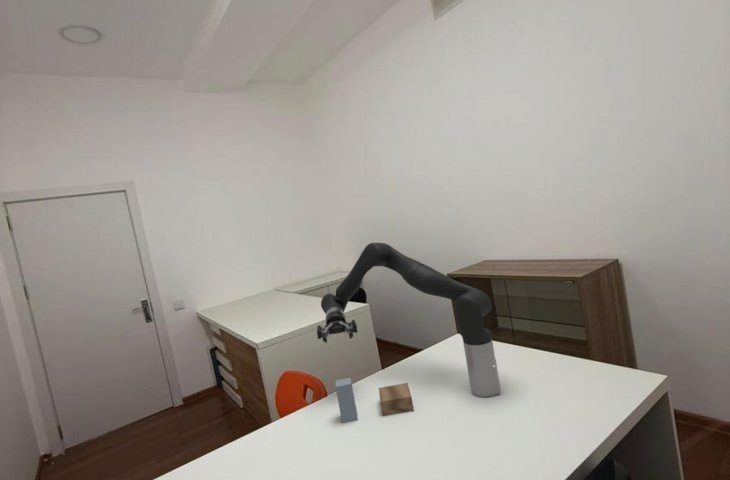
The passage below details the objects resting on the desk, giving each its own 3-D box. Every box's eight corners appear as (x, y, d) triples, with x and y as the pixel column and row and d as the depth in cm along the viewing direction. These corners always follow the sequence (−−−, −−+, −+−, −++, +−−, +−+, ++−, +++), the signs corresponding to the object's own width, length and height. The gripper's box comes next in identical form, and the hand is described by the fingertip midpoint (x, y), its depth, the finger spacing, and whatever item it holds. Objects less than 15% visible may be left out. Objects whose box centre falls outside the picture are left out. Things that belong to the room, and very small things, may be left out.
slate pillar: (356, 412, 130) (350, 377, 129) (357, 419, 125) (351, 383, 124) (342, 415, 130) (335, 380, 129) (342, 423, 125) (335, 387, 124)
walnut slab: (409, 396, 134) (407, 382, 134) (413, 411, 125) (411, 396, 124) (381, 401, 134) (378, 387, 134) (382, 416, 124) (380, 401, 124)
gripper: (315, 313, 148) (315, 331, 133) (352, 307, 150) (357, 324, 134) (318, 331, 150) (319, 351, 134) (355, 325, 151) (360, 344, 136)
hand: (338, 338), depth 134 cm, fingers open, 8 cm apart
